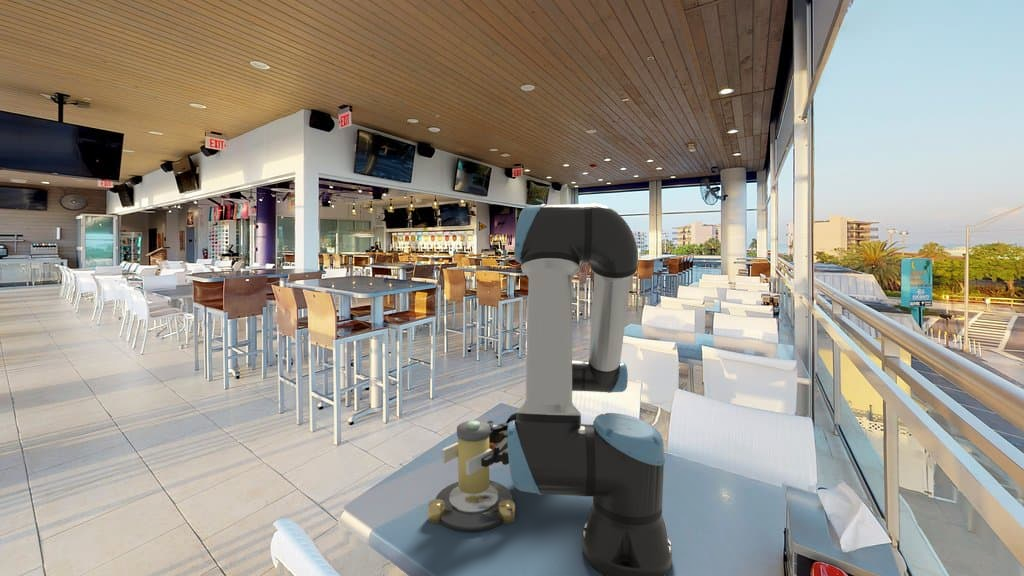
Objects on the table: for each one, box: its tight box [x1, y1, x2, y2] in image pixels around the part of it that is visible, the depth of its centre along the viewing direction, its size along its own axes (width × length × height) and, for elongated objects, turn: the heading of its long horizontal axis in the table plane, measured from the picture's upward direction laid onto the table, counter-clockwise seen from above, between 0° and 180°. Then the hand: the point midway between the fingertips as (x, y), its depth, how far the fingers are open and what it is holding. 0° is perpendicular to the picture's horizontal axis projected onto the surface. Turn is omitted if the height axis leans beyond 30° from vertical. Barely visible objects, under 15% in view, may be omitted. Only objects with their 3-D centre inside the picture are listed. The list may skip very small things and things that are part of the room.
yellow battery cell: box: [456, 420, 490, 494], centre depth 85 cm, size 7×7×13 cm
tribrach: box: [427, 479, 516, 533], centre depth 85 cm, size 17×18×3 cm
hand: (455, 461), depth 81 cm, fingers closed on yellow battery cell, 6 cm apart
